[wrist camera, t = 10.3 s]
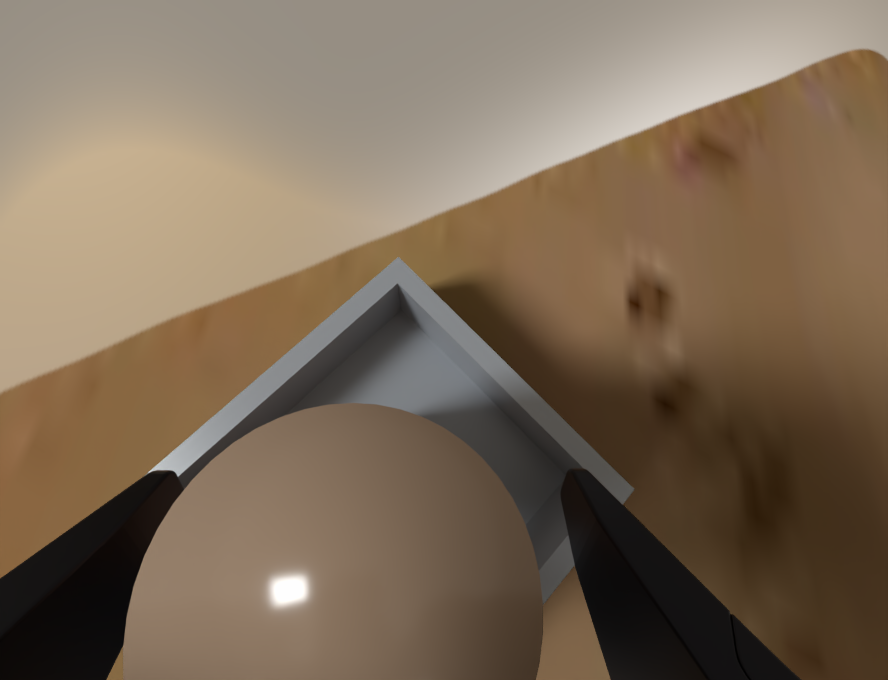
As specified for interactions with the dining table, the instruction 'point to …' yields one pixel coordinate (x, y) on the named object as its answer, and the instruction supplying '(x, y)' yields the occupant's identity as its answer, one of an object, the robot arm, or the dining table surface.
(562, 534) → the box
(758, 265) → the dining table surface
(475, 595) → the jar
